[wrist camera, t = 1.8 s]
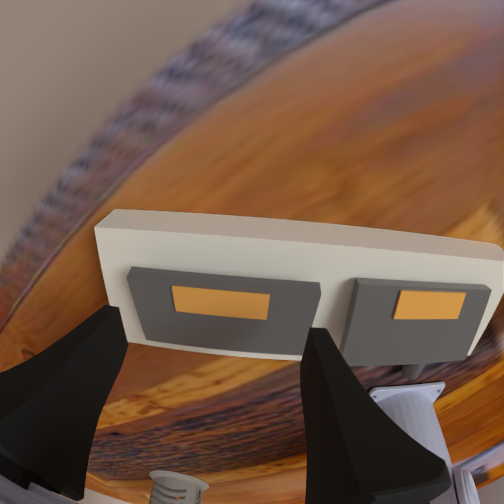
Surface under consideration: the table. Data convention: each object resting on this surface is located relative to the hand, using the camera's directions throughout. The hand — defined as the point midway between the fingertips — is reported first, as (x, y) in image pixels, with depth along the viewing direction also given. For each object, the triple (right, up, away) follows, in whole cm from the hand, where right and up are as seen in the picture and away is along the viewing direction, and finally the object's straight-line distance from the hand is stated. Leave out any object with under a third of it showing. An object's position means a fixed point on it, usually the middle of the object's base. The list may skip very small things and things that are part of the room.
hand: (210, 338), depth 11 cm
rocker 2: (+11, -1, +4) cm, 12 cm away
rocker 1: (0, 0, +4) cm, 4 cm away
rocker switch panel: (+6, 0, +8) cm, 10 cm away
